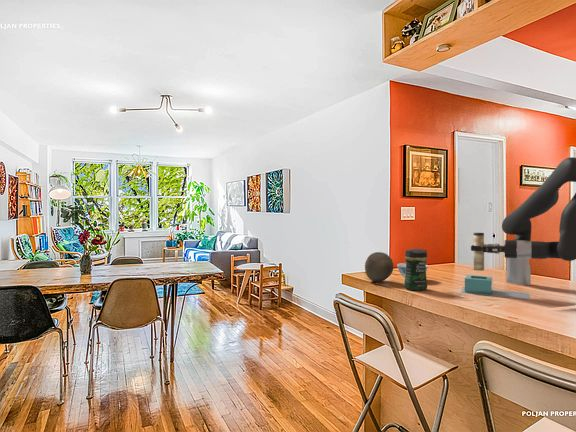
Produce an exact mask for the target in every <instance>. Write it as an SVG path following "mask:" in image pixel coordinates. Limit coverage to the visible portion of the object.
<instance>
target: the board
mask: <svg viewBox="0 0 576 432" xmlns="http://www.w3.org/2000/svg"><path fill="white" fill-rule="evenodd" d="M460 294H466V295H467V294H469V295H480V296H489V297H501V298H511V299H519V300H520V299H521V300H530V301H531V296H530V293H529V292H525V291H523V292H522V291H511V290H510V291H509V290H502V289H501V290H499V289H492V294H491V295H486V294H476V293H466V292H465V286H464V287H463V288H462V289H461V291H460Z"/></svg>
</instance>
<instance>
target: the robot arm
mask: <svg viewBox="0 0 576 432" xmlns="http://www.w3.org/2000/svg"><path fill="white" fill-rule="evenodd" d="M569 182H570V183H571V182H573V183H576V157H575V156H573V157H566V158H565V159H563V160H562V161H561V162H560V163H559V164H558V165H557V166H556V167H555V169H554V170H553V171H552V173H551V174H549V176H548V177H547V178H546V180H545V181H544V182H543V183H542V184H541V185H540V186H539V187H538V188H537V189H536V190H535V191H534V192H532V194H531V195H529V196H528V198H527V199H525V200H524V201H523V202H522V203H521V204H520V205H519V206H518V207H516V208H515V210H513V211H512V212H510V213H509V214H508V215H507V216H506V217H505V218H504V219H503V220H502V223H501V229H502V231H503V232H504V233H505V234H507V235H509V236H510V235H511V236H513V235H514V236H515V237H514V239H505V240H504V245H500V243H488V244H486V243H484V246H483V245H482V246H474V244H472V245H470V251H472V252H474V251H481V252H484V253H487V254H496V255H497V254H498V255H499V254H500V253H504V258H505V259H506V268H505V269H506V277H505V278H506V279H505V280H506V284H512V285H520V286H524V287H528V286H531V274H532V273H531V271H532V270H531V269H532V268H531V264H530V259H532V260H533V259H535V260H537V259H538V260H539V259H540V260H543V259H561V260H563V261H566V262H573V261H575V260H576V192H575V193H574V195H573V197H571V199H570V201H569V202H568V203H567V204H566V205H565V207H564V208H563V209H562V212H561V215H560V221H559V229H558V230H559V239H558V240H557V241H539V240H537V241H536V240H532V221H531V219H533V218H536V217H539V216H541V215H543V214H545V213H546V212H548V211H550V210H551V209H552V207H554V206H555V205H556V204H557V203H558V202H559V198H560V197H559V196H560V195H559V194H560V191H559V190H560V188H561V187H562V186H563V185H565V184H566V183H569Z"/></svg>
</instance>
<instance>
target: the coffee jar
mask: <svg viewBox="0 0 576 432" xmlns="http://www.w3.org/2000/svg"><path fill="white" fill-rule="evenodd" d="M404 259H405V263H406V275H405V277H404V278H405V279H404V288H405V289H406V290H411V291H425V290H427V289H428V278H427V271H426V265H427V260H428V251H427V250H426V249H422V248H408V249H406V250H405V254H404Z"/></svg>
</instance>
